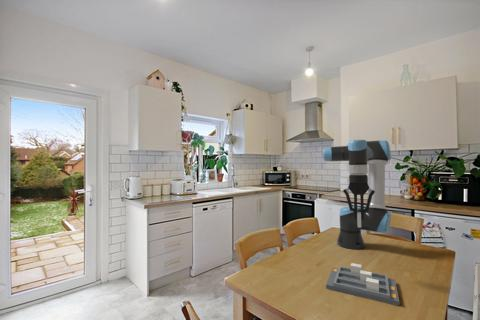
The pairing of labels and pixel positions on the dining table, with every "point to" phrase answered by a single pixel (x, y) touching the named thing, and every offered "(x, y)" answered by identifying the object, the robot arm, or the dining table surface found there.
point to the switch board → (363, 285)
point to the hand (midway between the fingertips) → (359, 226)
